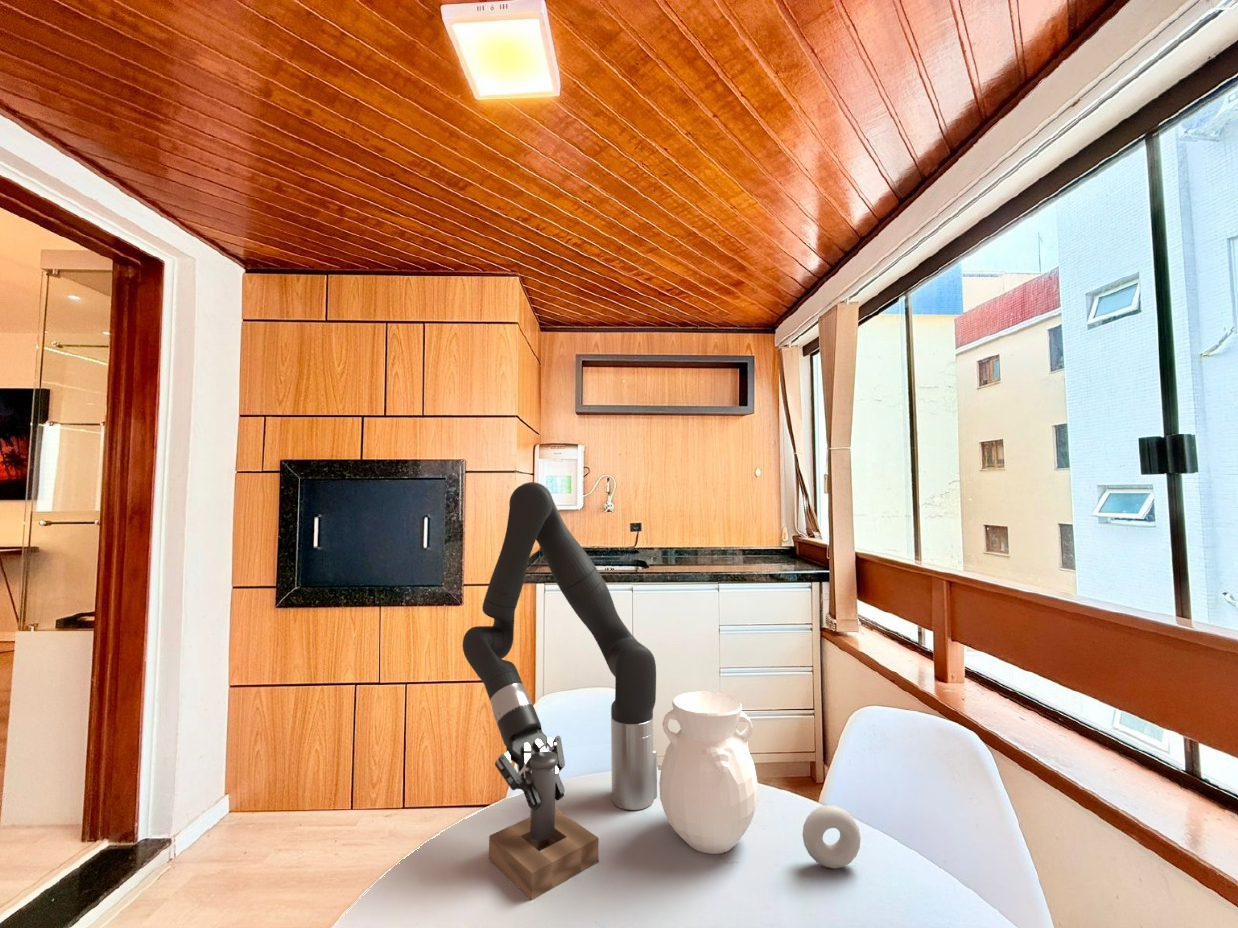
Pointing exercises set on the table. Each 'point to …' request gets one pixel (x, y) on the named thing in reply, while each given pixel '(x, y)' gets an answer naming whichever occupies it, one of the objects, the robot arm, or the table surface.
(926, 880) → the table surface
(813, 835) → the donut
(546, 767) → the plug
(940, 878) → the table surface
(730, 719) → the white handled vase
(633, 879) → the table surface
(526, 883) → the socket block
